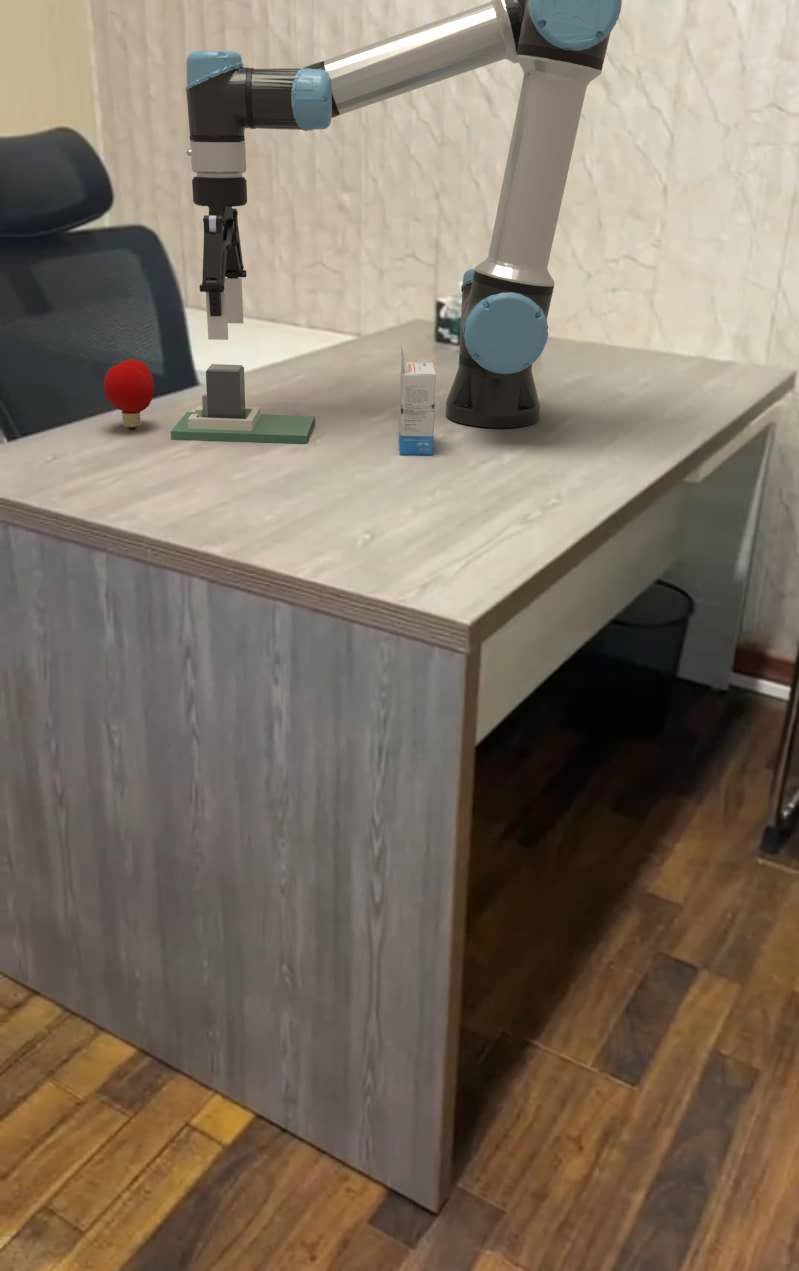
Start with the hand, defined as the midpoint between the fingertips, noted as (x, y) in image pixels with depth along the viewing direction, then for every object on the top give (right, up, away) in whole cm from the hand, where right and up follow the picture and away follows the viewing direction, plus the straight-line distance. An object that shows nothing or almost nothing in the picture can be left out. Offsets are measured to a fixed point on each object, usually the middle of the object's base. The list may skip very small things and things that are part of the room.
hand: (226, 331), depth 170 cm
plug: (-1, -12, +6) cm, 14 cm away
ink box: (+28, -17, 0) cm, 33 cm away
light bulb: (-15, -14, +6) cm, 21 cm away
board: (+2, -14, +6) cm, 15 cm away
